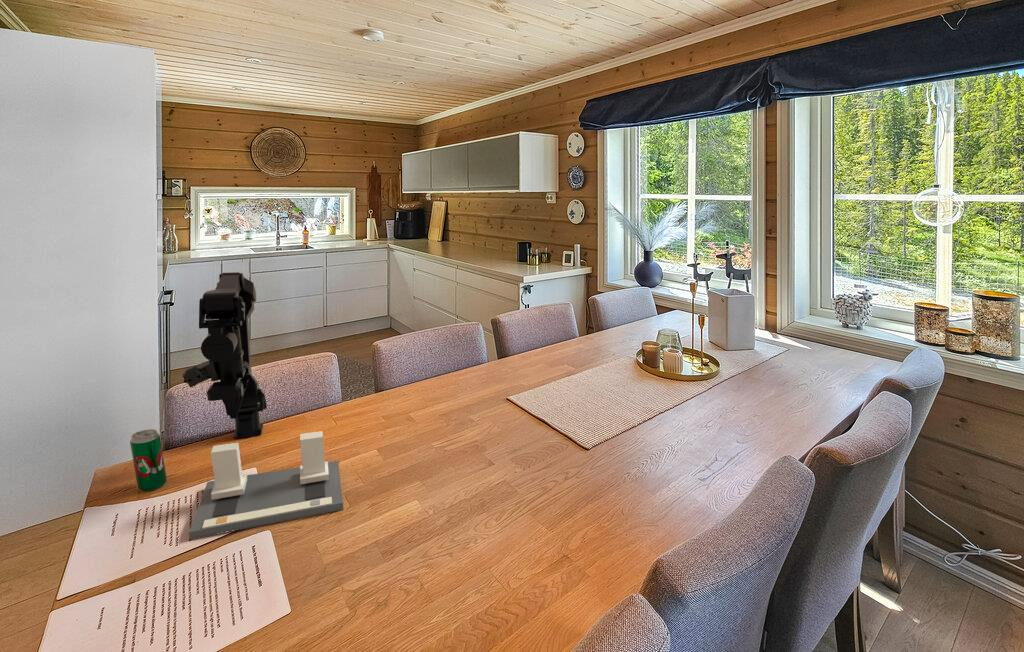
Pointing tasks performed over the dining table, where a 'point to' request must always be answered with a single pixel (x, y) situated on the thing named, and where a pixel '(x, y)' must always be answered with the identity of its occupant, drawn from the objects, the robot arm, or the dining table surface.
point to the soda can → (148, 460)
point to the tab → (313, 458)
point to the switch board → (267, 502)
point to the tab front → (227, 471)
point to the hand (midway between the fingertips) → (234, 415)
